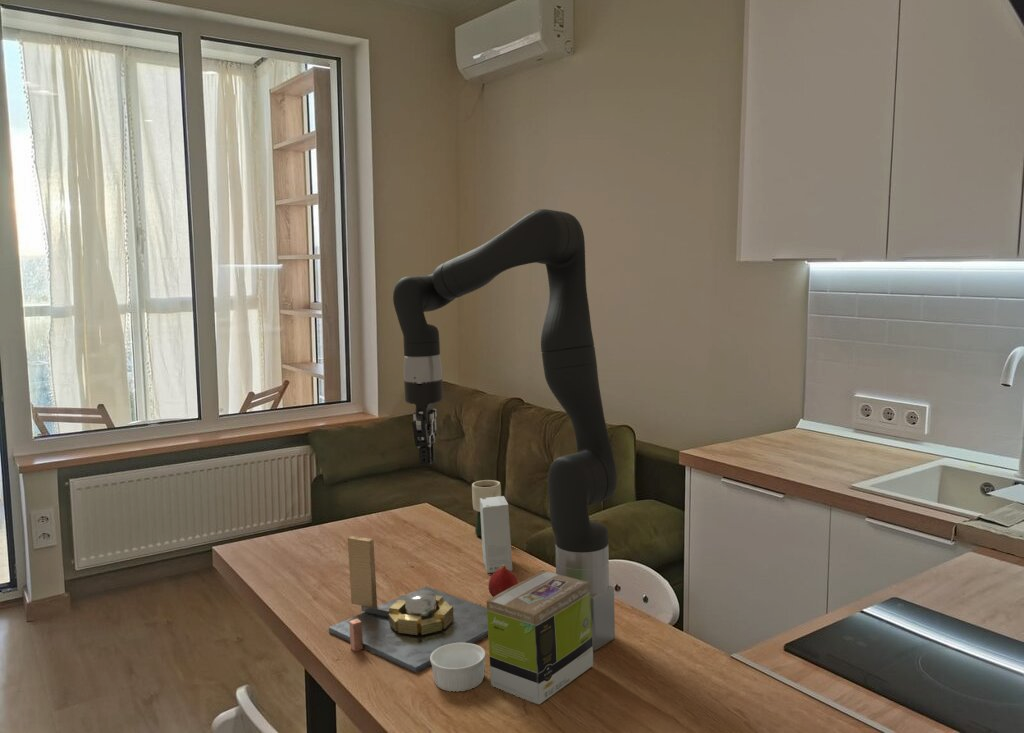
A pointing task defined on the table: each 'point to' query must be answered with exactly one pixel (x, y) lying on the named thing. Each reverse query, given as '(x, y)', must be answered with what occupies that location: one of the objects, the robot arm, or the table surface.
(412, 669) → the hub base
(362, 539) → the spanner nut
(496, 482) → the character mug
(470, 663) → the ramekin
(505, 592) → the tea box
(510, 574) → the onion
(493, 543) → the skincare box
